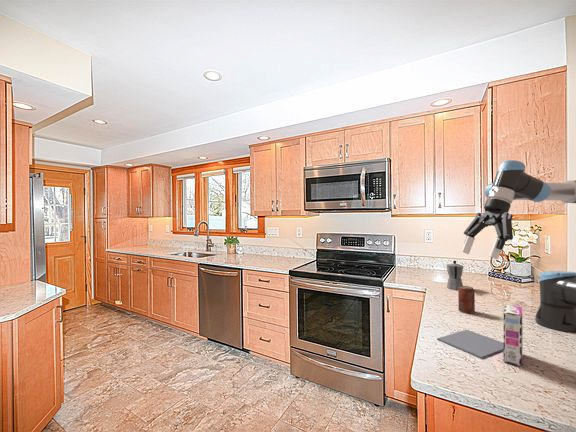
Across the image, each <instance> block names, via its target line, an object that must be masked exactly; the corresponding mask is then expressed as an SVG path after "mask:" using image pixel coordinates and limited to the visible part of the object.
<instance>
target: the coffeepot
mask: <svg viewBox="0 0 576 432" xmlns="http://www.w3.org/2000/svg"><path fill="white" fill-rule="evenodd" d="M463 269H464V265H462V264H458V263H457V261H456V260H453V263H449V264H448V263H447V264H446V270H447V274H448V279H447V285H446V288H447V289H448V290H452V291H458V288H459V287H460V286H464V285H463V280H462V276H463Z"/></svg>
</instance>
